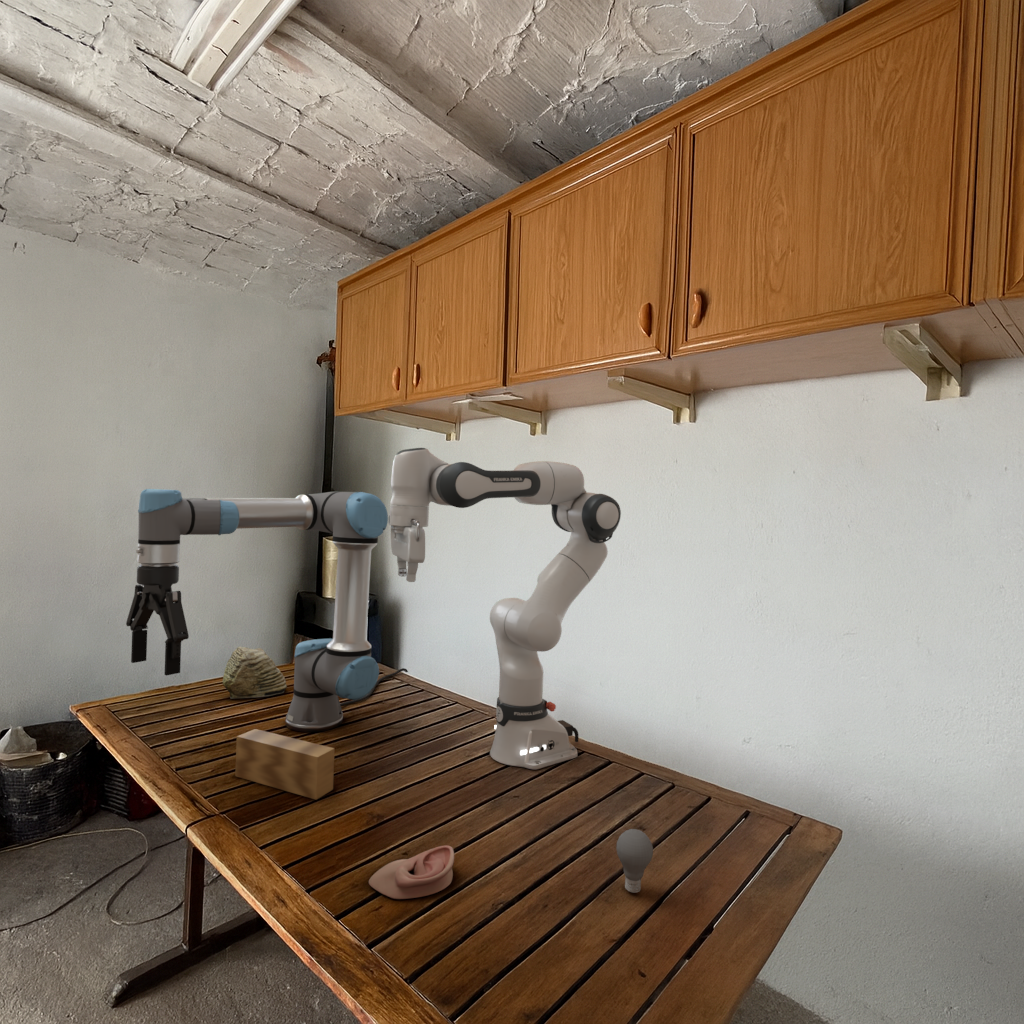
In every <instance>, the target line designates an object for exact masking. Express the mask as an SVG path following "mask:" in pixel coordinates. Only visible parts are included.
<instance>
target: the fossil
mask: <svg viewBox="0 0 1024 1024" xmlns="http://www.w3.org/2000/svg"><path fill="white" fill-rule="evenodd" d="M222 676H223V677H222V685H223V687H224V688H225V690H226V691H228V693H229V698H230V699H250V698H264V697H271V696H275V695H281V694H284V693H285V691H286V689H287V687H288V686H287V680H286V678H285V676H284V674H283V673H282V672H281V669H279V668H278V667H277V665H276V663H275V662H274V660H273V659H272V658H271V657H270V656H269V655H268V654H267V653H266V652H265V650H264V649H263V648H260V647H258V648H251V647H247V646H246V647H245V646H238V647H237V648H236V649H235V650H233V651H232V653H231V656H230V657H229V659H228V660H227V663H226V666H225V668H224V671H223V675H222Z"/></svg>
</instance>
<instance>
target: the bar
mask: <svg viewBox="0 0 1024 1024" xmlns="http://www.w3.org/2000/svg"><path fill="white" fill-rule="evenodd" d="M235 746H236V747H235V771H234V772H235V773H234V774H235V775H234V776H235V777H236V778H240V779H243V780H246V781H250V782H254V783H257V784H260V785H264V786H267V787H270V788H274V789H278V790H281V791H285V792H288V793H291V794H295V795H299V796H301V797H305V798H309V799H311V800H316V801H317V800H318V799H320V798H322V797H323V796H325V795H326V794H328V793H330V792H331V791H333V790H334V774H335V753H336V752H335V750H336V749H335V747H331V746H327V745H322V744H318V743H314V742H311V741H306V740H303V739H298V738H295V737H290V736H286V735H282V734H277V733H274V732H271V731H270V732H269V731H266V730H261V729H257V728H254V729H251V730H249V731H247V732H243V733H242V734H239V735H237V736H236V745H235Z"/></svg>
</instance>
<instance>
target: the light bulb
mask: <svg viewBox="0 0 1024 1024" xmlns="http://www.w3.org/2000/svg"><path fill="white" fill-rule="evenodd" d="M615 849H616V854H617V857H618V859H619V861H620V863H621V865H622V867H623V873H624V874H623V875H624V876H625V878H624V888H625V890H627V891H628V892H630V893H634V894H635V893H639V892H640V891H641V889H642V887H641V886H642V879H643V877H644V875H645V871H646V868H647V867H648V866H649V864H650V863H651V861H652V859H653V855H654V847H653V843H652V841H651V838H649V836H648V835H647V834H646V833H645V832H643V831H642V830H641V829H636V828H629V829H627V830H625V831H623V832H622V833H621V834H620V835H619V837H618V839H617V841H616V847H615Z"/></svg>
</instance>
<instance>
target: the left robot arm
mask: <svg viewBox="0 0 1024 1024" xmlns="http://www.w3.org/2000/svg"><path fill="white" fill-rule="evenodd" d="M137 513H138V534H137V535H138V537H137V539H138V540H137V548H136V549H135V553H136V554H137V563H138V564H140V565H137V567H136V583H137V584H135V586H134V594H133V598H132V603H131V604H130V608H129V612H128V616H127V619H126V622H125V625H126V627H129V629H130V631H131V654H130V655H131V656H130V657H131V658H130V663H132V664H135V663H141V662H147V655H148V654H147V652H148V629H149V627H148V623H149V621H150V619H151V617H152V615H153V613H154V612H155V614H156V615H158V616H159V619H160V621H161V624H162V627H163V631H164V633H165V635H166V638H167V639H165V641H164V643H165V644H164V646H165V647H164V648H165V650H164V676H171V675H176V674H180V673H181V661H182V660H181V656H182V642H183V641H184V640H188V639H189V637H190V636H189V631H188V627H187V622H186V618H185V612H184V607H183V603H182V592H181V590H174V591H173V587H172V585H175V584H178V582H179V579H180V566H179V564H178V563H179V562H180V557H181V556H180V554H181V553H180V551H181V536H188V535H191V536H193V535H196V536H198V535H200V536H201V535H203V536H205V535H206V536H207V535H209V536H210V535H211V536H212V535H214V536H215V535H217V536H221V535H231V534H233V533H235V531H236V530H237V529H238V530H240V529H241V530H242V529H265V528H267V529H268V528H269V529H270V528H297V529H298V530H300V531H317V532H323V533H328V534H332V543H333V545H334V546H335V547H336V548H337V561H336V563H337V564H336V578H335V596H334V597H335V598H334V612H333V613H334V614H333V629H332V630H333V631H332V638H317V639H308V640H304V641H300V642H299V643H297V645H296V646H295V650H294V655H293V657H294V672H293V673H294V674H293V695H292V696H293V697H292V699H291V702H290V704H289V708H288V711H287V713H286V715H285V726H286V728H287V729H289V730H291V731H294V732H295V731H296V732H301V733H316V732H325V731H329V730H332V729H335V728H337V727H339V726H340V725H342V723H343V722H344V713H343V709H342V707H344V706H348V705H351V704H356V703H359V702H362V701H364V700H367V699H368V698H369V697H371V696H372V694H373V693H374V691H375V689H376V687H377V686H378V684H379V683H380V682H382V681H384V680H385V679H388V678H392V677H395V676H396V675H398V674H400V673H401V672H405V673H409V671H408V669H407V668H404V667H401V668H399V669H398V670H396V671H394V672H392V673H389V674H386V675H384V676H382V677H380V678H379V676H380V667H379V664H378V663H379V662H377V661H376V659H375V658H374V657H373V656H372V644H371V643H370V642H369V641H368V639H367V631H368V629H367V628H368V615H369V614H368V613H369V597H370V596H369V595H370V581H371V580H370V579H371V561H372V550H373V549H374V548H375V547H376V546H377V545H378V540H379V537H380V536H381V535H383V533H384V531H385V530H386V529H387V526H388V524H389V515H388V509H387V506H386V505H385V503H384V502H383V501H382V499H381V498H380V497H379V496H377V495H375V494H372V493H368V492H364V491H337V490H336V491H327V492H319V493H308V494H306V493H305V494H298V495H296V497H204V498H203V497H202V498H201V497H183V495H182V492H181V491H180V490H179V489H164V488H163V489H162V488H161V489H160V488H145V489H143V490H141V492H140V495H139V500H138V509H137ZM177 564H178V565H177ZM339 698H341V699H347V700H348V701H343V702H340V699H339Z"/></svg>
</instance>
